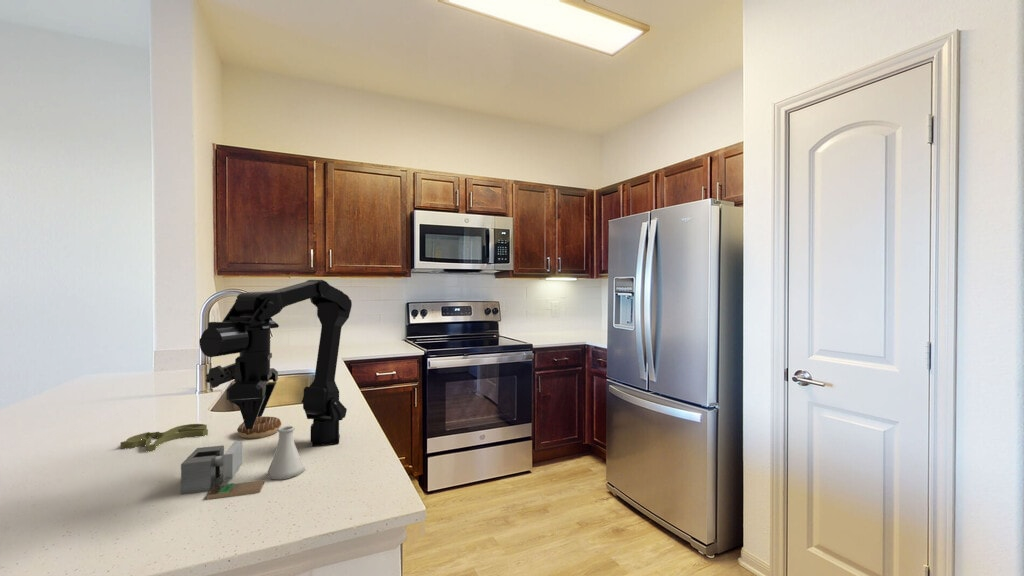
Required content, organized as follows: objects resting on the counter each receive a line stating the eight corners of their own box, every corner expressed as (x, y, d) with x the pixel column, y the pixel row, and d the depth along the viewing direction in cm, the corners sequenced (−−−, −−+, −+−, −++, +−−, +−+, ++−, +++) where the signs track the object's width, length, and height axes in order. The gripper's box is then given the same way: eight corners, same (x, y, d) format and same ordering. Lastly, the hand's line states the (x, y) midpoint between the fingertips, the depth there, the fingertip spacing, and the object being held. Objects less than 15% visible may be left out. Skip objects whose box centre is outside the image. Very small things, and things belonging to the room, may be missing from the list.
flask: (281, 483, 90) (281, 435, 90) (259, 476, 93) (259, 430, 93) (311, 470, 97) (311, 425, 97) (290, 464, 100) (289, 421, 100)
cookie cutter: (138, 456, 105) (138, 448, 105) (114, 448, 110) (114, 440, 110) (216, 434, 121) (216, 427, 121) (192, 428, 126) (192, 421, 126)
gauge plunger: (242, 463, 96) (242, 440, 96) (226, 487, 85) (227, 461, 85) (218, 466, 94) (218, 442, 94) (199, 491, 83) (199, 464, 83)
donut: (289, 429, 125) (289, 415, 125) (262, 441, 115) (262, 426, 115) (257, 426, 127) (257, 413, 127) (227, 439, 117) (227, 424, 117)
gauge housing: (272, 466, 98) (272, 440, 98) (260, 492, 86) (260, 462, 86) (196, 475, 93) (197, 448, 93) (172, 504, 81) (172, 472, 81)
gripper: (224, 346, 99) (223, 413, 99) (195, 358, 82) (194, 441, 82) (278, 344, 103) (278, 409, 103) (262, 356, 85) (261, 434, 85)
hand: (254, 422), depth 93 cm, fingers open, 9 cm apart
